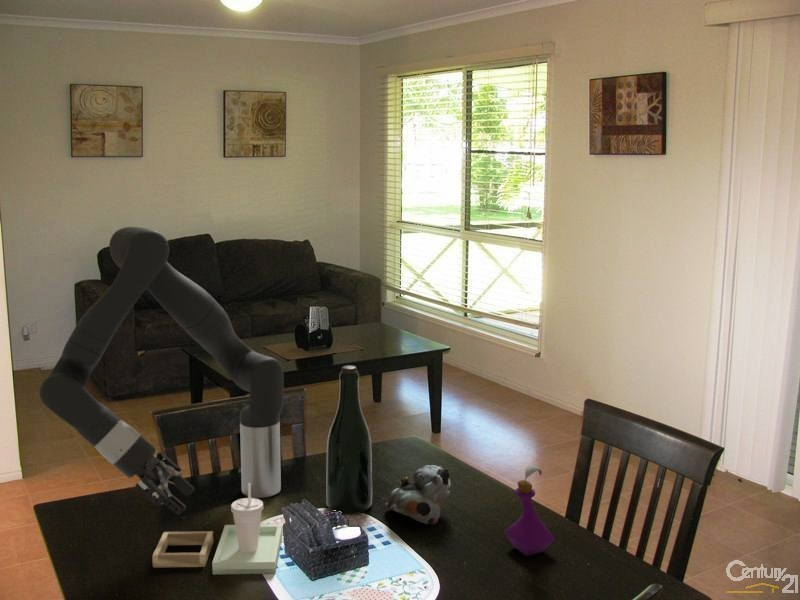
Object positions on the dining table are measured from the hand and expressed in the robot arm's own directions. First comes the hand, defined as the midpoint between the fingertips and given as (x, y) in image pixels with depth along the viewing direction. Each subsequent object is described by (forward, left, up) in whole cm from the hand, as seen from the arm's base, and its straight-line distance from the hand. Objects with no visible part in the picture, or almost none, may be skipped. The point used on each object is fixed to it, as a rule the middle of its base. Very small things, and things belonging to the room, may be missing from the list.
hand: (187, 502), depth 165 cm
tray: (0, +12, -11) cm, 16 cm away
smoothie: (0, +12, -10) cm, 16 cm away
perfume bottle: (0, +69, -11) cm, 70 cm away
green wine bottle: (-22, +32, -11) cm, 40 cm away
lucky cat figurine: (-17, +47, -12) cm, 51 cm away
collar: (0, -1, -11) cm, 11 cm away
